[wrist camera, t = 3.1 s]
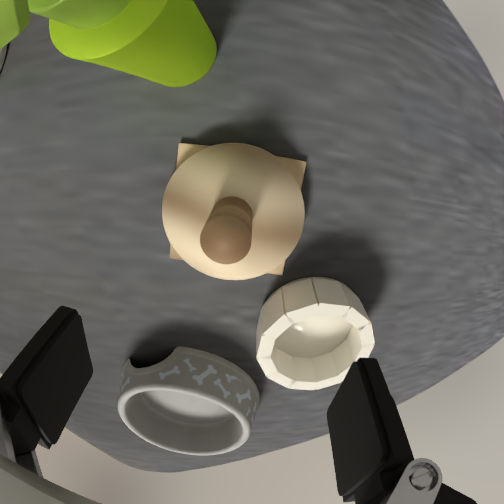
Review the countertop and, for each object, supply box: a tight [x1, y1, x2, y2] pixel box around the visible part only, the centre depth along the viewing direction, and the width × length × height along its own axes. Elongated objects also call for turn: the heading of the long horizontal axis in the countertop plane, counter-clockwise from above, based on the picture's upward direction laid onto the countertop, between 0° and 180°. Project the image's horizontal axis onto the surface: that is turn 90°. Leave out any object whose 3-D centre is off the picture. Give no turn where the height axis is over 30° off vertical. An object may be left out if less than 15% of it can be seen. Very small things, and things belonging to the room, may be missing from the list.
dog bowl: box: [118, 347, 260, 455], centre depth 33 cm, size 17×18×5 cm
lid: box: [162, 143, 305, 280], centre depth 21 cm, size 11×11×6 cm
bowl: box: [256, 277, 375, 390], centre depth 27 cm, size 10×10×4 cm
